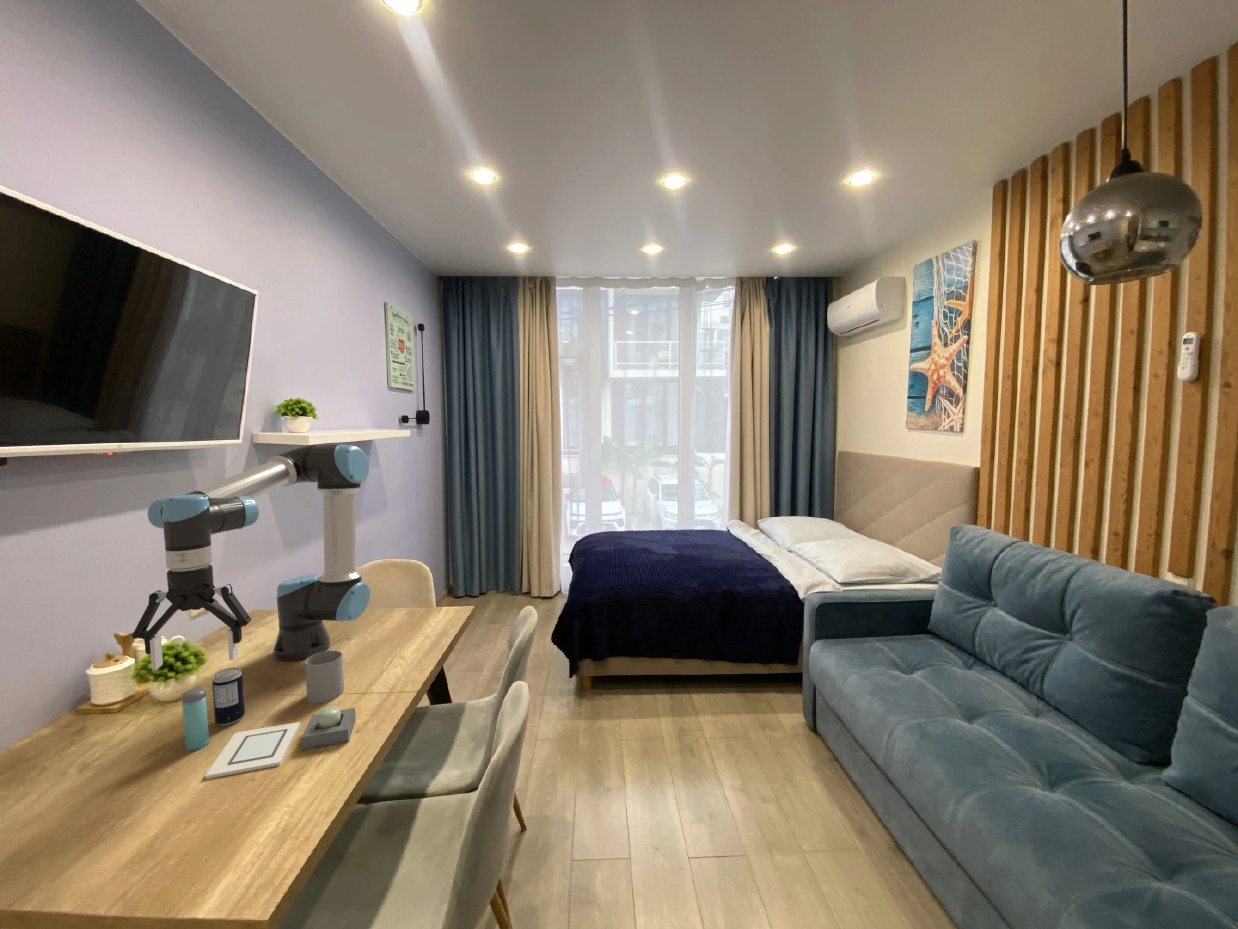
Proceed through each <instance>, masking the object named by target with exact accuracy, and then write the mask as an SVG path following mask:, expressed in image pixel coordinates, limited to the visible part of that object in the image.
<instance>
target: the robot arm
mask: <svg viewBox="0 0 1238 929" xmlns="http://www.w3.org/2000/svg"><path fill="white" fill-rule="evenodd" d="M369 473H370V464H369V460H368V456H367V455H366V454H365V452H364V451H363V449H361V448H360V447H358V446H356V445H350V444H342V443H341V444H307V445H303V446H299V447H296V448H293V449H290V450H287V451H284V452H282V453H279V454H276V455H274V456H272V457H269V459H268V460H267V461H266V463H263V464H260V465H258V466H255V467H252V468H250V469H248V470H244V471H243V472H242V471H241V472H239V473H238V474H234V475H232V476H229V477H227V478H224V479H222V480H219V481H216V482H213V483H211V484H209V485H207V486H204V487H201V488H199V489H197V490H194V491H190V492H187V493H185V494H181V495H180V494H179V495H171V496H167V497H165V496H164V497H160V498H157V499H155V500H153V502H151V504H150V505H149V506H148V509H147V518H148V521H149V522H150V524H151V525H152V526H154V527H156V528H158V529H163V538H164V548H165V564H166V566H165V567H166V569H168V571H166V580H167V581H166V582H167V589H168V590H167V591H162V590H160V589H159V590H156V591H153V592H151V593H150V594H149V596H148V605H146V606H147V607H146V608H145V610H144V612H143V613H142V616H141V618H140V619H139V621H138V624H137V625H136V627H135V629H134V631H133V633H132V634H131V638H133V639H142V640H143V641H144V651H145V654H146V655H150V665H151V670H152V671H157V670H158V669H159V668H160V667H161V666H163V664H164V661H163V647H162V646H163V644H162V635H161V634H160V635H159V634H158V632H159V631H161V629H162V628H163V627H164V626H165V625H166V624H167V623H168V621H170V620H171V618H172V617H174V615H175V614H176V613H177V612H178V610H179V611H181V612H186V611H189V610H192V611H193V610H194V611H197V610H201V609H204V610H206V611H207V612H209V613H211V614H212V615H213V616H215V617H216V618H217V619H219V620H220V621H221V622H222V623H224V625H226V626H227V627H228V628H230V629H228V630H227V646H228V647H227V648H228V660H229V661H234V660H235V658H236V657H237V656H238V655H239V652H238V650H239V649H238V644H239V643H240V642H241V641H242V639H243V633H242V631H243V630H242V628H243V627H247V625H248V624H249V623H250V622H252V617H250V615H249V614H248V612H247V611H246V610H245V608H244V607H243V605H242V604H241V602H240V601H239V599H238V598H237V597H236V595H235V594H234V591H233V586H232V585H231V583H227V584H225V585H223V586H218V587H216V586H215V585H214V570H213V565H212V564H211V563H212V562H213V556H212V535H215V534H220V533H224V532H229V531H235V530H241V529H243V528H246V527H249V526H252V525H253V524H255V523H256V522H257V521H258V519H259V516H260V508H259V505H258V503H257V501H256V500H255V499H254V498H257V497H259V496H261V495H264V494H266V493H268V492H270V491H273V490H274V489H277V488H279V487H283V488H287V487H290V486H293V485H295V484H299V483H301V484H302V483H316V484H317V486H316V488H317V490H318V491H319V492H320V493H321V494H322V495H323V504H322V505H323V562H324V563H323V574H322V575H320V574H317V573H313V574H307V575H301V576H296V577H294V578H293V577H292V578H290V579H287V580H284V581H282V582H281V583H279V584H278V586H277V587H276V588H277V591H276V592H277V593H276V594H277V595H276V603H277V616H278V628H279V629H278V634H277V636H276V638H275V639H276V640H275V642H274V646H273V657H274V659H275V660H278V661H283V662H286V661H287V662H292V661H300V660H304V659H305V660H306V659H307V658H308V657H310V656H312V655H314V654H317V653H320V652H324V651H328V649H329V648H330V646H331V637H330V635H329V633H328V630H327V628H326V626H325V623H324V621H330V622H331V621H334V622H339V623H341V622H352V621H355V620H357V619H358V618H360V617H361V616H362V615H363V614H364V612H365V611H366V609H367V607H368V605H369V602H370V598H371V589H370V588H371V587H370V586H369V585H368V583H366V582H363V581H362V573H361V572H359V571H358V570H357V555H356V554H357V551H356V550H357V548H356V547H357V546H356V544H357V543H356V540H357V539H356V537H357V536H356V532H357V530H356V494H357V492H358V491H359V490H361V488H362V487H361V484H362V483H364V482H365V481H366V480H367V478H368V475H369ZM216 594H217V595H218V596H219V597H222V600H223V602H224V603H225V605H226V606H227V607H228V609H229V610H230V611H231V612H232V613H231V612H230V611H228V610H227V609H226V608H225V607H223V605H221V604H220V603H219V601H218V600H217V599H216V598H215V597H214V596H215V595H216ZM165 599H167V601H168V602H170V603H171V605H169V607H168V608H167V609H166V610H165V612H164V613H163V614H162V615H161V616H160V618H158V620H156V621H155V623H154V624H153V625H152V626H150V624H151V622H152V620H153V619H154V616H155V614H156V613H157V610H158V609H159V607H160V605H161V603H162V602H164V601H165ZM149 626H150V628H149ZM148 628H149V629H148ZM157 634H158V635H157Z"/></svg>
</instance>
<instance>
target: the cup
mask: <svg viewBox="0 0 1238 929" xmlns="http://www.w3.org/2000/svg"><path fill="white" fill-rule="evenodd" d="M343 656H344V655H343V652H342V651H339V650H325V651H324V652H320V653H317V654H314V655H312V656H310V657H308V658H305V661H304V663H305V664H304V666H305V682H306V686H305V687H306V699H307V701H308V702H309V703H311V704H322V703H326V702H330V701H333V700H335V699H338V698H339V697H340V696H341V695H343V693H344V691H345V682H344V680H345V678H344V660H343Z"/></svg>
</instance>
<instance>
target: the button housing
mask: <svg viewBox="0 0 1238 929" xmlns="http://www.w3.org/2000/svg"><path fill="white" fill-rule="evenodd" d="M340 716H341V724H340V725H339V726H336V727H330V728H324V729H319V725H318V713H316V714H311V716H310V719H309V721H308V723H307V724H306V727H305V729H304V732H303V733H302V736H301V750H302V751H306V750H307V751H308V750H312V749H318V748H322V747H328V746H334V745H340V744H344V743H345V744H346V743H349V742H350V738H351V735H352V732H353V729H354V727H355V722H356V707H352V708H345V709H340Z"/></svg>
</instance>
